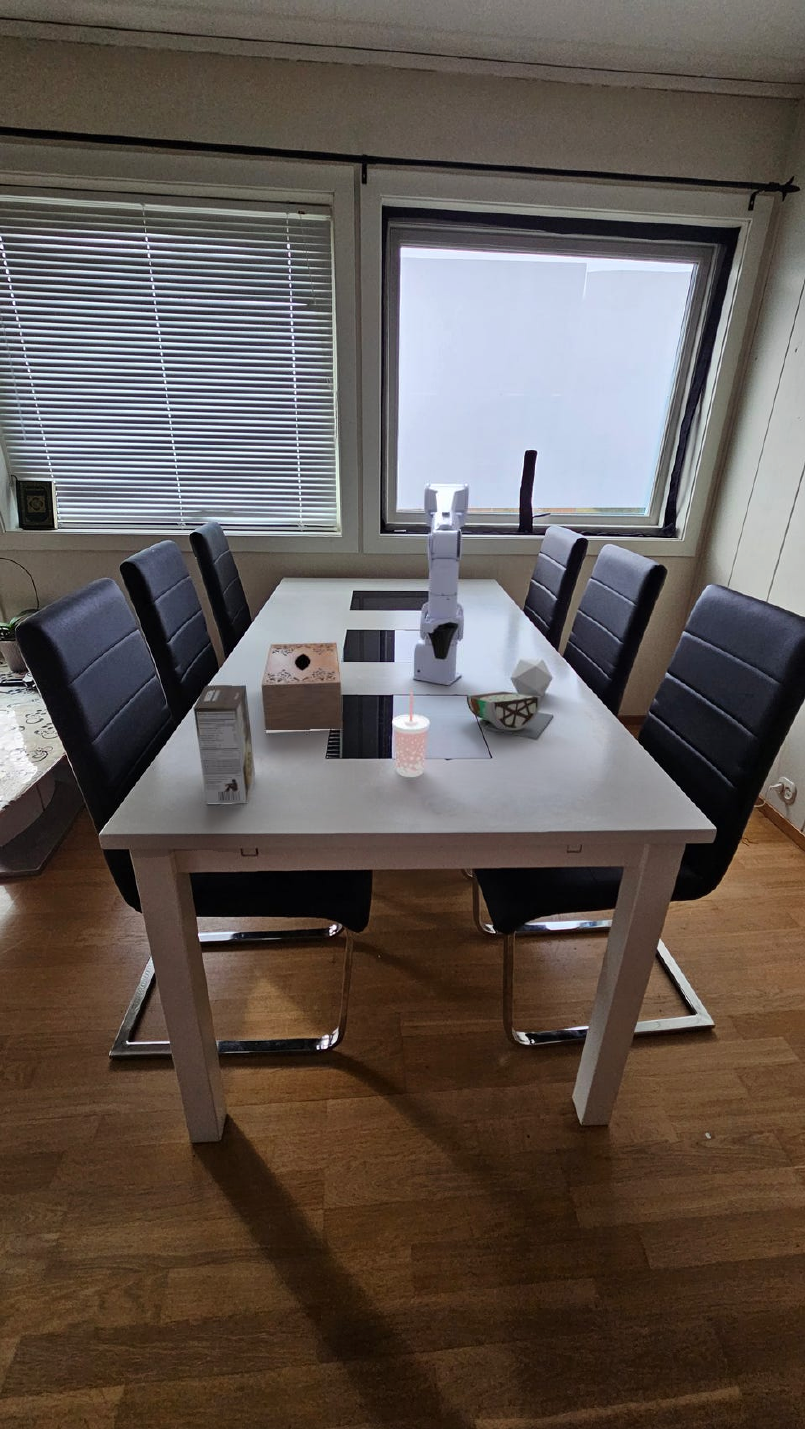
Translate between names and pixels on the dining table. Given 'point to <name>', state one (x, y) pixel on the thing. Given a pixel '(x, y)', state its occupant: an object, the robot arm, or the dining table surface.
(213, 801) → the coffee box
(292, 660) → the tissue box cover
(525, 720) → the food container
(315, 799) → the dining table surface
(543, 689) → the die
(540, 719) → the mat
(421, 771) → the beverage cup
